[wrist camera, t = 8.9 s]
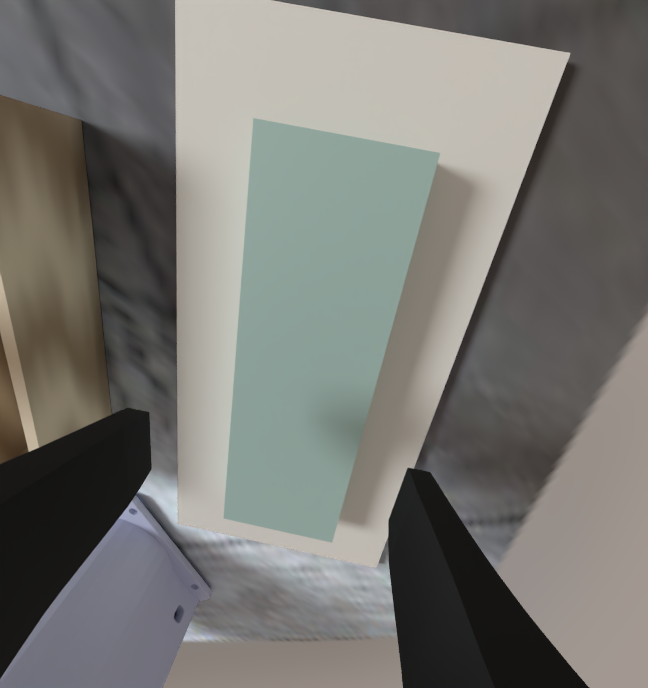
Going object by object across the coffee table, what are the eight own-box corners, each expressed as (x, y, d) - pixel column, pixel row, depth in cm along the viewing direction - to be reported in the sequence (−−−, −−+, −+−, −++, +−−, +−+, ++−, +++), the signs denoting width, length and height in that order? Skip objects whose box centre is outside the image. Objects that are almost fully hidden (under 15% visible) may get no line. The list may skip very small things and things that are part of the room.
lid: (334, 515, 18) (332, 542, 16) (234, 492, 18) (223, 518, 17) (429, 160, 11) (440, 153, 10) (267, 129, 11) (253, 117, 10)
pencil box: (115, 454, 18) (54, 516, 15) (40, 437, 18) (-39, 495, 15) (81, 120, 12) (-42, 81, 8) (-33, 98, 12) (-203, 51, 8)
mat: (375, 561, 19) (376, 568, 19) (181, 517, 20) (177, 523, 19) (562, 58, 10) (570, 53, 10) (181, -9, 10) (175, -17, 10)
